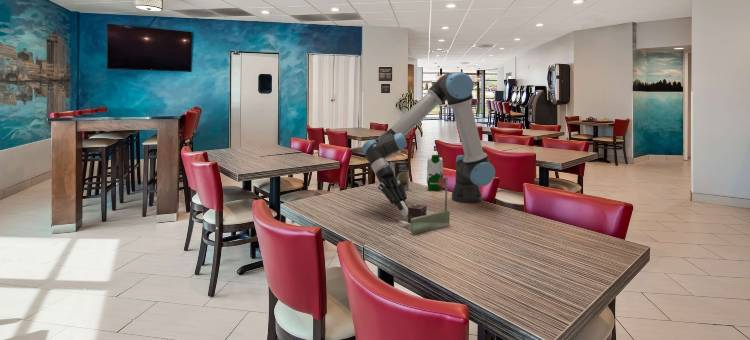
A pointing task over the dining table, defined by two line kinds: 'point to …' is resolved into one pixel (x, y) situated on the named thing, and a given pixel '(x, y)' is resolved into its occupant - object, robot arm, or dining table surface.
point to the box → (416, 211)
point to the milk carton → (434, 172)
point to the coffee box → (401, 172)
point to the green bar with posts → (429, 217)
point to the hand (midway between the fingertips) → (407, 215)
